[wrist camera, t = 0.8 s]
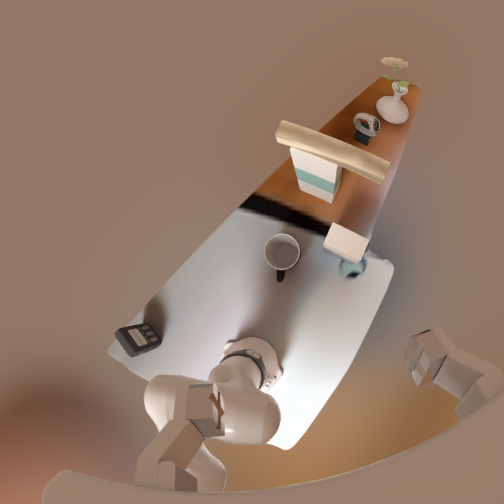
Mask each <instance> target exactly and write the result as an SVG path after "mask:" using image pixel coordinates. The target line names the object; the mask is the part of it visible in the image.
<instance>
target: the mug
mask: <svg viewBox="0 0 504 504" xmlns="http://www.w3.org/2000/svg"><path fill="white" fill-rule="evenodd" d="M300 256H301V250H300V246H299V244H298V242H297V241H296V239H295V238H294V237H292V236H291V235H288V234H284V233H280V234H276V235H274V236H272V237H271V238H269V239H268V241H267V242H266V244H265V246H264V257H265V260H266V262H267V263H268V264H269V265H270V266H271V267H272V268H274V269H276V270H277V281H278V282H282V281H283V279H284V275H285V271H286V270H288V269H291V268H293V267H294V266H295V265H296V264H297V263H298V261H299V259H300Z"/></svg>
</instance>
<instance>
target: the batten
mask: <svg viewBox="0 0 504 504" xmlns="http://www.w3.org/2000/svg"><path fill="white" fill-rule="evenodd" d="M275 136H276V138H277V141H278V142H279V143H282V144H285V145H288V146H290V147H293V148H296V149H299V150H301V151H304V152H307V153H309V154H312V155H314V156H317V157H319V158H322V159H324V160H327V161H329V162H332V163H334V164H336V165H339V166H341V167H343V168H346V169H348V170H350V171H353V172H355V173H357V174H359V175H361V176H364V177H366V178H368V179H370V180H372V181H374V182H376V183H378V184H380V185H381V184H382V182H383V180H384V179H385V176H386V173H387V170H388V167H389V164H390V162H388V161H386V160H384V159H382V158H379V157H377V156H375V155H373V154H371V153H369V152H366V151H364V150H362V149H359V148H357V147H355V146H352V145H350V144H348V143H345V142H343V141H340V140H338V139H335V138H333V137H330V136H327V135H325V134H322V133H319V132H317V131H314V130H311V129H308V128H305V127H302V126H299V125H296V124H293V123H290V122H287V121H284V120H282V122H281V123H280V125H279V127H278V129H277V131H276V133H275Z"/></svg>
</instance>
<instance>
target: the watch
mask: <svg viewBox="0 0 504 504" xmlns="http://www.w3.org/2000/svg"><path fill="white" fill-rule="evenodd" d="M358 118H359V119H364V120H367V121H368V124H369V125H368V124H365V123H363V122H361V123H360V121H359V119H358ZM353 122H354V125H355V127H356V128H357V132H356V135H355V139H354V140H356V141H358V142H360V143H362V144H365V145H368V143H369V141H370V138H371V136H376V135H377V134H378V133H379V131H380V121H379V119H378V118H376V117H374V116H373V115H369V114H367V113H358V114H357V115H356V116H355V118H354V121H353Z"/></svg>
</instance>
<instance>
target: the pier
mask: <svg viewBox="0 0 504 504" xmlns="http://www.w3.org/2000/svg"><path fill="white" fill-rule="evenodd" d="M368 242H369V240H368V239H366V238H364V237H362V236H360V235H358V234H356V233H354V232H352V231H350V230H348V229H346V228H344V227H342V226H340V225H338V224H336V223H334V222H333V223H332V226H331V228H330V230H329V232H328V234H327V236H326V239H325V241H324V243H323V250H324V251H326V252H328V253H330V254H332V255H334V256H336V257H338V258H340V259H342V260H344V261H346V262H348V263H350V264H354V263H356V262H359V261H360V260H361V258H362V256H363V254H364V251H365V249H366V247H367V245H368Z"/></svg>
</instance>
